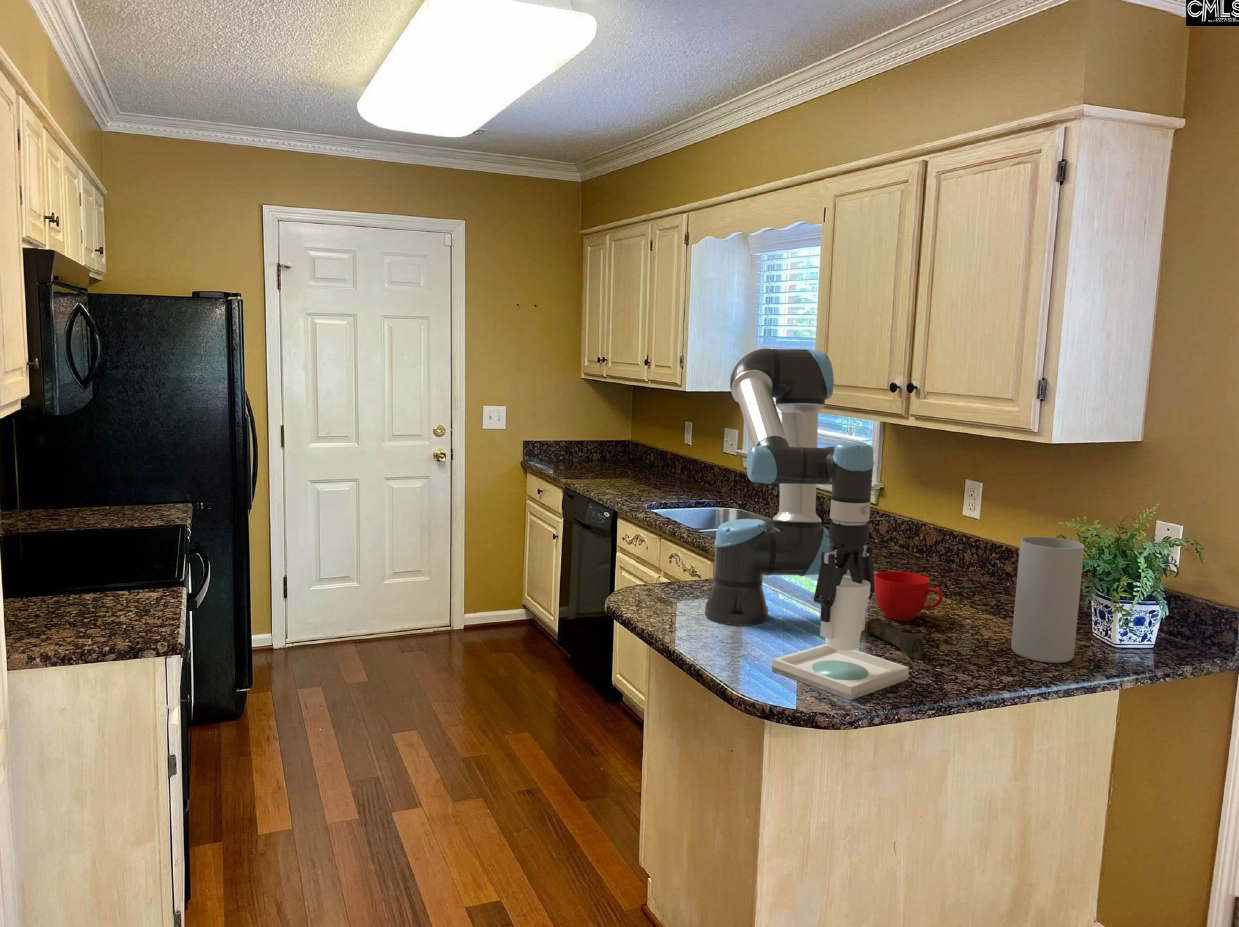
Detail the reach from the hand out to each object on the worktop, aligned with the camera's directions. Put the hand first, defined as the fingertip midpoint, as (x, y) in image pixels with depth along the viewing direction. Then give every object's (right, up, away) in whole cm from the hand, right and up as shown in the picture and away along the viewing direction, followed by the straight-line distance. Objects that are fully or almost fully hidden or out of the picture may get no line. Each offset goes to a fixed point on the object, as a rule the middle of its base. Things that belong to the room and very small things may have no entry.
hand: (842, 632), depth 186 cm
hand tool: (+17, -7, +21) cm, 28 cm away
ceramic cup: (+26, -4, +43) cm, 50 cm away
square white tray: (0, -9, +1) cm, 9 cm away
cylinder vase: (+48, -8, +19) cm, 52 cm away
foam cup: (0, -3, 0) cm, 3 cm away
